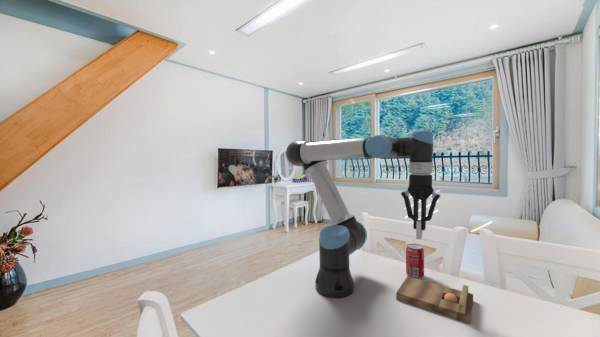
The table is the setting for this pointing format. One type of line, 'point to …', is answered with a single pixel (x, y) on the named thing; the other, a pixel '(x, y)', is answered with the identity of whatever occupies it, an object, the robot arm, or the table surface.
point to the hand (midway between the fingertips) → (419, 238)
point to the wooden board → (436, 298)
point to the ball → (451, 298)
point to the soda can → (415, 261)
